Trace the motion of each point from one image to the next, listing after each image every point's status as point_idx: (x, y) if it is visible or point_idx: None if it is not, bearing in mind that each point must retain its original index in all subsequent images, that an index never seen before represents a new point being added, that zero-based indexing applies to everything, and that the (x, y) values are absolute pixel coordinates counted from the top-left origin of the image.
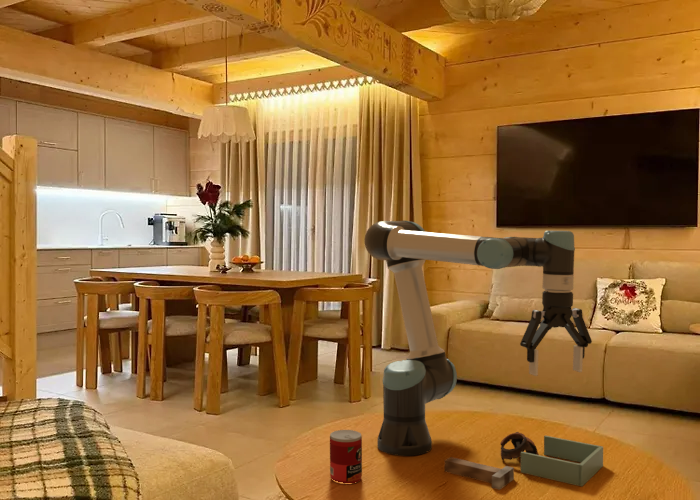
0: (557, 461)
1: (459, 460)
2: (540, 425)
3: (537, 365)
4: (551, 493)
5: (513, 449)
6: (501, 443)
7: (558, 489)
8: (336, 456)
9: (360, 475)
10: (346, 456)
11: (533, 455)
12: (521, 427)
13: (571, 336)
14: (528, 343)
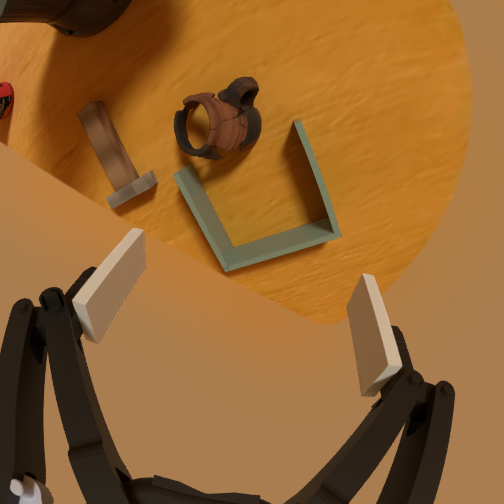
0: (206, 236)
1: (93, 122)
2: (427, 12)
3: (126, 292)
4: (175, 245)
5: (180, 145)
6: (183, 103)
7: (193, 242)
8: None
9: (6, 113)
10: None
11: (184, 197)
12: None
13: (372, 420)
14: (37, 350)
